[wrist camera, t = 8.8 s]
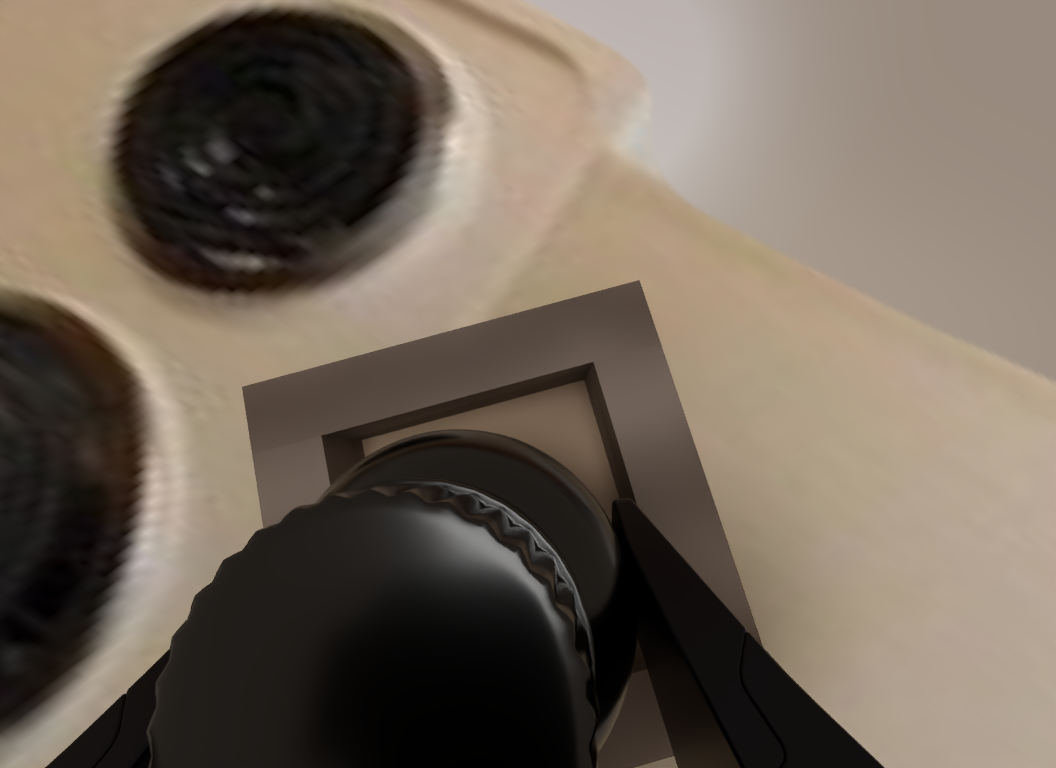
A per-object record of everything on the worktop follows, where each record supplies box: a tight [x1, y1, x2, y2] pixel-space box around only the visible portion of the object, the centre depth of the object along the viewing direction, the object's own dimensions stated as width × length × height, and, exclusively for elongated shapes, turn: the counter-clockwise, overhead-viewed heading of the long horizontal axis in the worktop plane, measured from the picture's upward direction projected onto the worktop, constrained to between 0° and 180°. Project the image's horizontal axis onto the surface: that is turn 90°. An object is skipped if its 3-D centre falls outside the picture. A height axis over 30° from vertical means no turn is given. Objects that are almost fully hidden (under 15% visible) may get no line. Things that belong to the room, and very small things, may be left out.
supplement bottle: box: [147, 429, 637, 768], centre depth 10 cm, size 7×7×12 cm
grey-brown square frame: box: [242, 280, 763, 768], centre depth 17 cm, size 17×17×4 cm
